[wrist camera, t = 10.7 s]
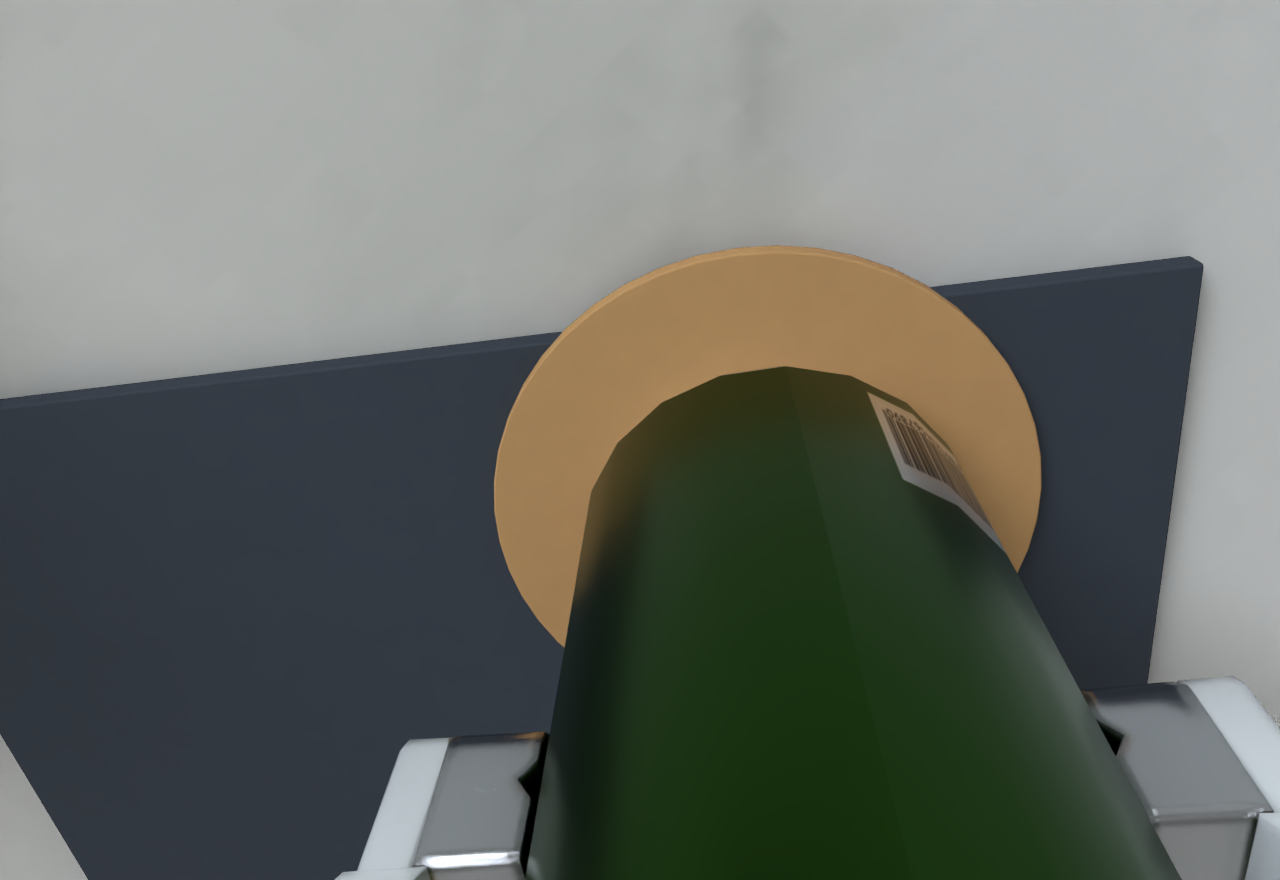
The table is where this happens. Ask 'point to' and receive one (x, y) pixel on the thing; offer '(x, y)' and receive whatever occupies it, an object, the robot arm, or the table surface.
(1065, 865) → the beer can
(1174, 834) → the robot arm
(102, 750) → the placemat
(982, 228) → the table surface
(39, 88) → the table surface
